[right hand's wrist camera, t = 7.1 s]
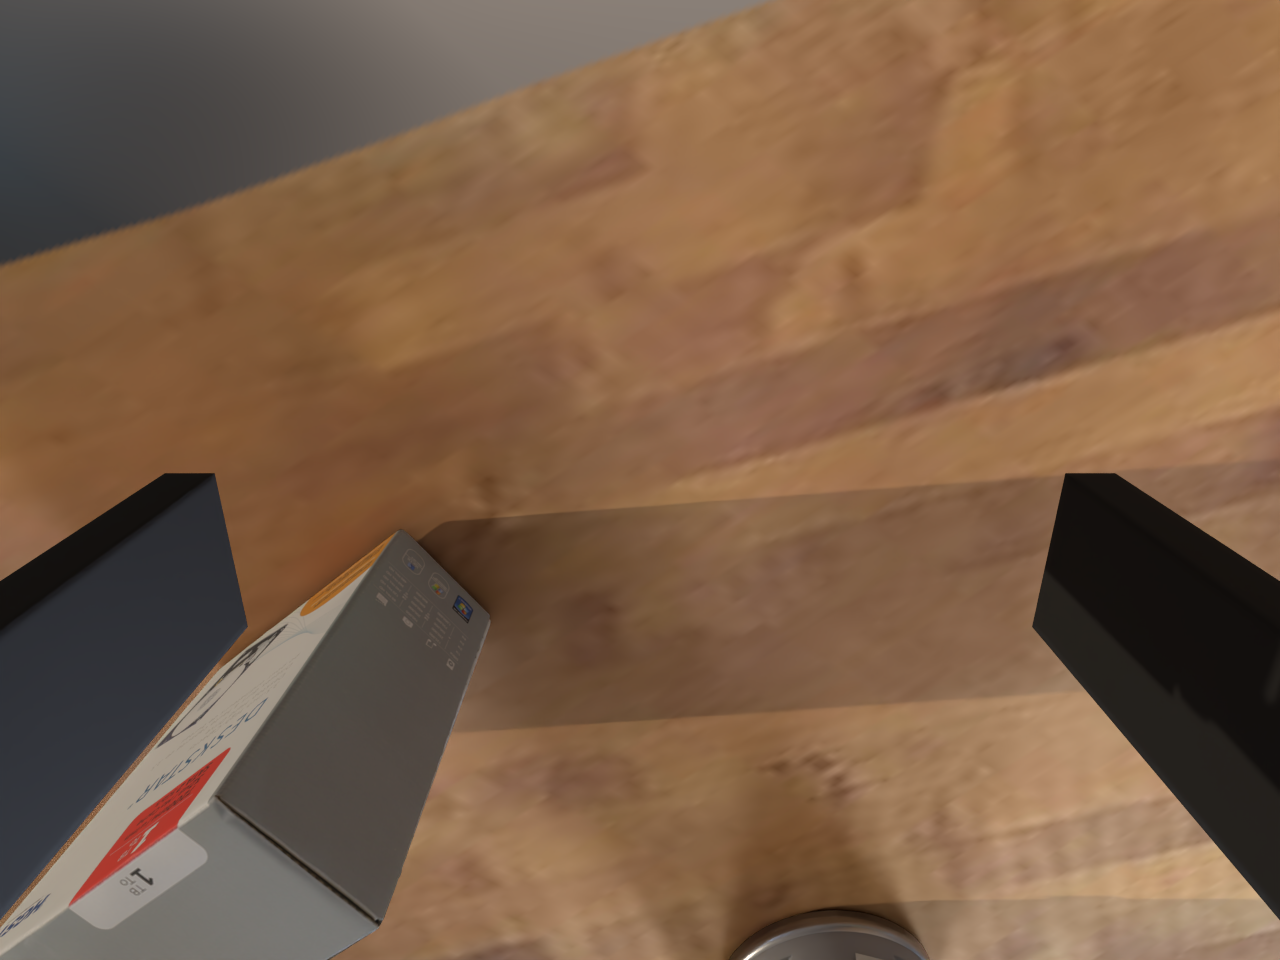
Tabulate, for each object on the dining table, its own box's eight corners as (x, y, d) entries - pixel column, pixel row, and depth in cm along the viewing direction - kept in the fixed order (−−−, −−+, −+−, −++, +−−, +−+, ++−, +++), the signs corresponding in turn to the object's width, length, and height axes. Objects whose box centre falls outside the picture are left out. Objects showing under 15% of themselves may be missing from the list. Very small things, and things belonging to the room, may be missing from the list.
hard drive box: (401, 520, 43) (221, 792, 24) (496, 616, 45) (397, 931, 27) (213, 669, 46) (-70, 1004, 28) (309, 750, 49) (107, 1110, 30)
